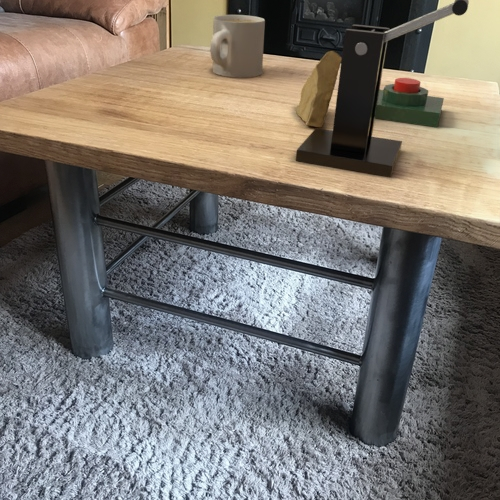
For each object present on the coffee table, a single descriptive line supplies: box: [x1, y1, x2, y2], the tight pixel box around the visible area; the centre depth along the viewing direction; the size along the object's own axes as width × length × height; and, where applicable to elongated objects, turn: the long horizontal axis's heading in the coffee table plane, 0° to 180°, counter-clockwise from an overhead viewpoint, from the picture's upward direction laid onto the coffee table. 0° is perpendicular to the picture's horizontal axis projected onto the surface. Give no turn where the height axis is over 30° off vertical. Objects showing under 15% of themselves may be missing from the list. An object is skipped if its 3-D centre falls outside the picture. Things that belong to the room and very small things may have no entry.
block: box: [375, 83, 445, 128], centre depth 91 cm, size 12×10×4 cm
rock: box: [295, 50, 342, 129], centre depth 86 cm, size 11×9×10 cm
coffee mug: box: [209, 14, 266, 79], centre depth 109 cm, size 13×10×10 cm
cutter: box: [295, 24, 403, 178], centre depth 70 cm, size 12×10×16 cm
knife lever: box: [372, 0, 470, 43], centre depth 64 cm, size 13×5×2 cm, turn 70°
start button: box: [393, 77, 421, 93], centre depth 90 cm, size 4×4×2 cm
